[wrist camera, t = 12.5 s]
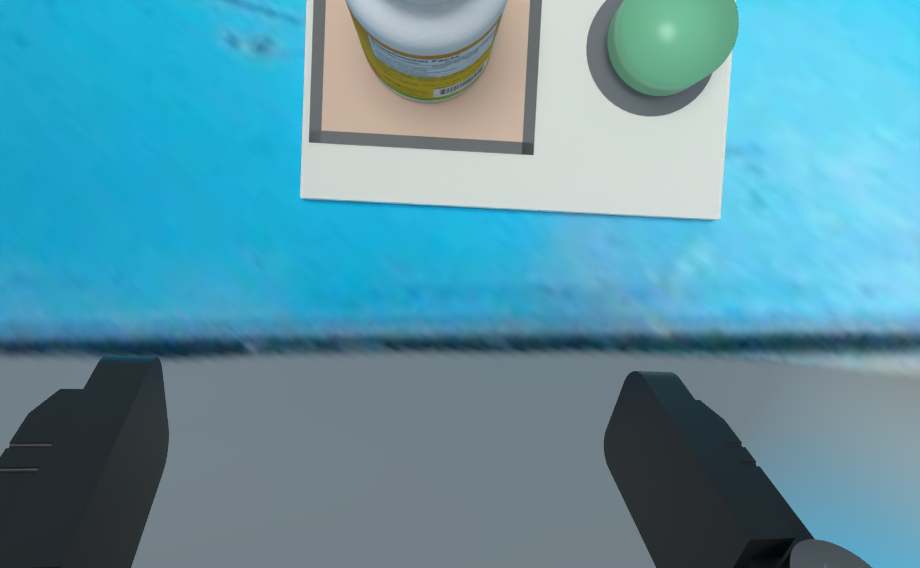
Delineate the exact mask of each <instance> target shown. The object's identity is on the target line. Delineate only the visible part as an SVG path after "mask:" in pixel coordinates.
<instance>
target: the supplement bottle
mask: <svg viewBox="0 0 920 568" xmlns="http://www.w3.org/2000/svg"><path fill="white" fill-rule="evenodd" d="M345 1H346V4H347V6H348V9H349V12H350V14H351V17H352V20H353V23H354V26H355V29H356V31H357V34H358V37H359V40H360V43H361V46H362V49H363V51H364V54H365V56H366V59H367V61H368V63H369V65H370V67H371V68H372V70H373V72H374V73H375V74H376V76H377V77H378V78H379V79H380V81H381V82H382V83H383V84H385V85H386V86H387V87H388V88H389V89H391V90H392V91H394V92H395V93H397V94H399V95H401V96H403V97H405V98H408V99H411V100H414V101H420V102H438V101H443V100H447V99H450V98H453V97H455V96H457V95H459V94H461V93H463V92H464V91H466V90H467V89H469V88H470V87H471V86H472V85H473V84H474V83H475V82H476V81H477V80H478V79H479V77H480V76H481V75H482V73H483V72H484V70H485V68H486V66H487V64H488V62H489V59H490V57H491V54H492V51H493V48H494V45H495V41H496V38H497V34H498V31H499V27H500V24H501V20H502V17H503V13H504V10H505V7H506V4H507V0H345Z"/></svg>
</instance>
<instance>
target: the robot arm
mask: <svg viewBox="0 0 920 568" xmlns="http://www.w3.org/2000/svg"><path fill="white" fill-rule="evenodd" d="M168 442H169V428H168V419H167V409H166V401H165V391H164V382H163V374H162V366H161V362H160V360H159V358H157V357H129V356H104V357H102V359H101V360H100V361H99V362H98V364H97V366H96V368H95V369H94V371H93V373H92V375H91V377H90V378H89V380H88V382H87V384H86V385H85V387H84V389H60V390H59V391H57V392H56V393H55V394H53V395H52V396H51V397H49V398H48V399H47V400H45V401H44V402H43V403H42V404H40V405H39V406H38V407H36V408H35V409H34V410H33V411H31V412H30V413H29V414H28V415H27V417H26V418H25V420H24V421H23V423H22V424H21V426H20V427H19V429H18V431H17V432H16V434H15V435H14V437H13V438H12V440H11V441H10V447H9V448H6V449H5V451H4V452H3V454H2V455H1V457H0V568H131V566H132V563H133V560H134V557H135V554H136V551H137V548H138V545H139V542H140V539H141V536H142V533H143V530H144V527H145V524H146V521H147V518H148V515H149V512H150V509H151V506H152V503H153V500H154V497H155V494H156V491H157V488H158V485H159V482H160V479H161V476H162V473H163V470H164V467H165V463H166V458H167V452H168ZM604 453H605V458H606V462H607V465H608V468H609V470H610V472H611V474H612V476H613V478H614V480H615V482H616V484H617V486H618V489H619V490H620V493H621V495H622V497H623V499H624V501H625V503H626V505H627V507H628V509H629V511H630V513H631V516H632V517H633V520H634V522H635V524H636V526H637V528H638V530H639V532H640V534H641V537H642V539H643V541H644V543H645V545H646V547H647V549H648V551H649V553H650V555H651V557H652V559H653V562H654V564H655V566H656V568H872V567H871V566H870V565H869V564H867V563H866V562H865V561H863V560H862V559H861V558H860V557H858V556H857V555H855V554H853V553H852V552H850V551H848V550H846V549H844V548H843V547H840V546H838V545H836V544H833V543H830V542H827V541H823V540H816V539H814V538H813V536H812V535H811V534H810V532H809V531H808V530H807V528H806V527H805V526H804V524H803V523H802V522H801V521H800V519H799V518H798V517H797V515H796V514H795V513H794V511H793V510H792V509H791V507H790V506H789V505H788V503H787V502H786V501H785V499H784V498H783V497H782V496H781V494H780V493H779V491H778V490H777V489H776V488H775V486H774V485H773V484H772V482H771V481H770V480H769V478H768V477H767V476H766V475H765V473H764V472H763V470H762V469H761V468H760V467H757V466H756V461H755V460H754V458H753V457H752V456H751V455H750V453H749V452H748V450H747V449H746V448H745V447H742V446H741V441H740V440H739V439H738V437H737V436H736V435H735V433H734V432H733V431H732V430H731V428H730V427H729V425H728V424H727V423H726V421H725V420H724V419H722V418H721V417H720V416H719V415H718V414H716V413H715V412H714V411H713V410H711V409H710V408H709V407H708V406H706V405H705V404H704V403H703V402H701V401H700V400H695V399H694V398H693V396H692V395H691V394H690V392H689V391H688V390H687V388H686V387H685V385H684V384H683V383H682V381H681V380H680V379H679V377H678V376H677V375H676V374H674V373H672V372H642V371H634V372H631V373H630V374H629V375H628V376H627V377H626V379H625V381H624V384H623V387H622V389H621V392H620V395H619V398H618V400H617V403H616V405H615V408H614V411H613V413H612V416H611V419H610V421H609V424H608V427H607V429H606V432H605V437H604Z"/></svg>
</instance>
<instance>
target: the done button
mask: <svg viewBox="0 0 920 568" xmlns="http://www.w3.org/2000/svg"><path fill="white" fill-rule="evenodd" d="M737 34H738V11H737V7H736V3H735V0H624V1H623V2H622V3H621V5H620V6H619V7H618V9H617V10H616V12H615V14H614V15H613V17H612V20H611V22H610V26H609V30H608V37H607V46H608V53H609V57H610V60H611V63H612V65H613V67H614V69H615V71H616V72H617V74H618V75H619V76H620V78H621V79H622V80H623V81H624V82H625V83H626V84H628V85H629V86H630V87H631V88H633V89H635V90H637V91H639V92H641V93H643V94H647V95H652V96H669V95H673V94H677V93H679V92H682V91H684V90H686V89H687V88H689V87H690V86H692V85H694V84H695V83H697V82H698V81H700V80H702V79H703V78H705V77H706V76H708V75H710V74H711V73H713V72H714V71H715V70H717V69H718V68H719V67H720V66H721V65H722V64H723V63H724V62H725V60H726V59H727V58H728V56H729V55H730V53H731V51H732V49H733V47H734V44H735V42H736V38H737Z"/></svg>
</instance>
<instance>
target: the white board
mask: <svg viewBox="0 0 920 568" xmlns="http://www.w3.org/2000/svg"><path fill="white" fill-rule="evenodd" d="M623 1H624V0H507V4H506V7H505V10H504V13H503V17H502V20H501V24H500V27H499V31H498V34H497V38H496V41H495V45H494V48H493V51H492V54H491V57H490V59H489V62H488V64H487V66H486V68H485V70H484V72H483V73H482V75H481V76H480V77H479V79H478V80H477V81H476V82H475V83H474V84H473V85H472V86H471V87H470V88H469V89H467V90H466V91H464V92H463V93H461V94H459V95H457V96H455V97H453V98H450V99H447V100H443V101H438V102H420V101H414V100H411V99H408V98H405V97H403V96H401V95H399V94H397V93H395V92H394V91H392V90H391V89H389V88H388V87H387V86H386V85H385V84H383V83H382V82H381V81H380V79H379V78H378V77H377V76H376V74H375V73H374V72H373V70H372V68H371V67H370V65H369V63H368V61H367V59H366V56H365V54H364V51H363V49H362V46H361V43H360V40H359V37H358V34H357V31H356V29H355V26H354V23H353V20H352V17H351V14H350V12H349V9H348V6H347V4H346V1H345V0H307V5H306V36H305V66H304V97H303V128H302V159H301V190H300V198H303V199H311V200H330V201H350V202H369V203H388V204H408V205H427V206H446V207H465V208H485V209H504V210H523V211H543V212H562V213H581V214H601V215H620V216H639V217H659V218H678V219H697V220H719V219H720V213H721V200H722V186H723V172H724V159H725V145H726V131H727V117H728V104H729V90H730V76H731V63H732V51H731V53H730V55H729V56H728V58H727V59H726V60H725V62H724V63H723V64H722V65H721V66H720V67H719V68H718V69H717V70H715V71H714V72H713V73H711V74H710V75H708V76H706V77H705V78H703V79H702V80H700V81H698V82H697V83H695V84H694V85H692V86H690V87H689V88H687V89H686V90H684V91H682V92H679V93H677V94H673V95H669V96H652V95H647V94H643V93H641V92H639V91H637V90H635V89H633V88H631V87H630V86H629V85H628V84H626V83H625V82H624V81H623V80H622V79H621V78H620V76H619V75H618V74H617V72H616V71H615V69H614V67H613V65H612V63H611V60H610V57H609V53H608V46H607V37H608V30H609V26H610V22H611V20H612V17H613V15H614V14H615V12H616V10H617V9H618V7H619V6H620V5H621V3H622V2H623ZM735 3H736V0H735Z"/></svg>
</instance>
